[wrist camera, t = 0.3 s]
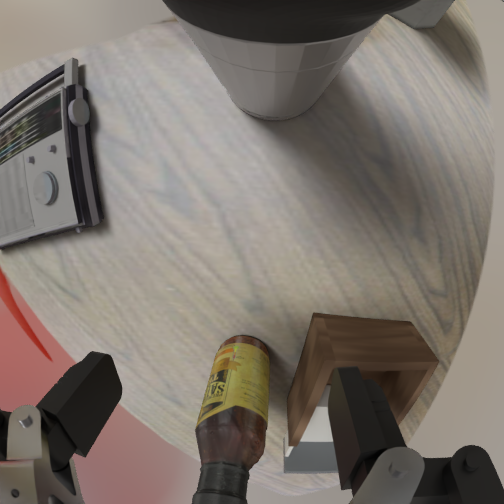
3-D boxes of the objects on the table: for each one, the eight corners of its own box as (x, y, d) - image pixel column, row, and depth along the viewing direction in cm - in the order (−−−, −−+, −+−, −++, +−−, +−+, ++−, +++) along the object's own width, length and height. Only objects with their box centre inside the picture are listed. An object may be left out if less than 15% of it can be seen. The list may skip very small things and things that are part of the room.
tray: (305, 383, 31) (310, 423, 25) (378, 385, 31) (391, 421, 25) (283, 439, 35) (283, 473, 29) (344, 440, 35) (350, 471, 29)
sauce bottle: (225, 325, 30) (181, 491, 11) (278, 341, 31) (278, 509, 12) (211, 365, 32) (170, 510, 13) (259, 379, 33) (246, 526, 14)
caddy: (313, 312, 29) (324, 359, 22) (410, 321, 29) (439, 361, 21) (286, 399, 33) (288, 446, 26) (371, 401, 33) (384, 443, 26)
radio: (-20, 259, 25) (-37, 131, 20) (2, 248, 30) (-14, 130, 25) (83, 234, 23) (66, 46, 17) (110, 221, 28) (92, 58, 22)
